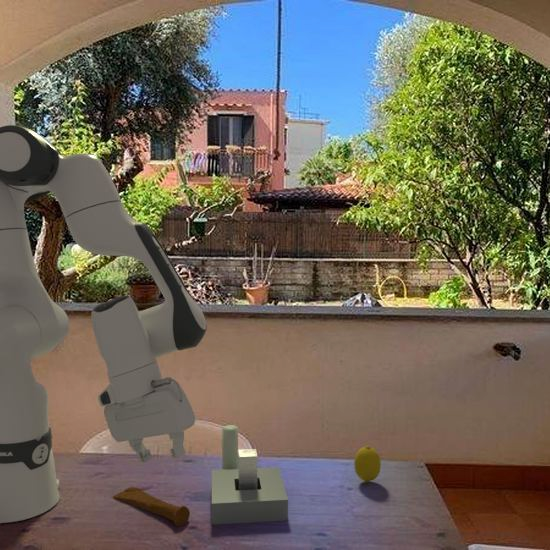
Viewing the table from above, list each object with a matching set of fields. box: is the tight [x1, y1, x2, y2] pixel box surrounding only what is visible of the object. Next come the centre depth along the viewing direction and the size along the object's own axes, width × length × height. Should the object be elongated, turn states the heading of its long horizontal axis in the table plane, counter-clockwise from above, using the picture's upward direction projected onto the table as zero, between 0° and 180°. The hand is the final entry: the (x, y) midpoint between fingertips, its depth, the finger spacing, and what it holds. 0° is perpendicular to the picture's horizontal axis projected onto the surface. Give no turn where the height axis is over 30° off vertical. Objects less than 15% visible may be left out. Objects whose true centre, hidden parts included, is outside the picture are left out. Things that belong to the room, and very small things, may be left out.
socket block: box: [211, 466, 289, 526], centre depth 106 cm, size 14×14×4 cm
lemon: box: [354, 445, 382, 483], centre depth 115 cm, size 6×6×8 cm
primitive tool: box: [112, 486, 191, 527], centre depth 105 cm, size 19×6×4 cm, turn 53°
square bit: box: [238, 448, 258, 490], centre depth 106 cm, size 4×4×10 cm
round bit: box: [221, 424, 239, 470], centre depth 120 cm, size 4×4×10 cm
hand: (162, 458), depth 96 cm, fingers open, 8 cm apart
